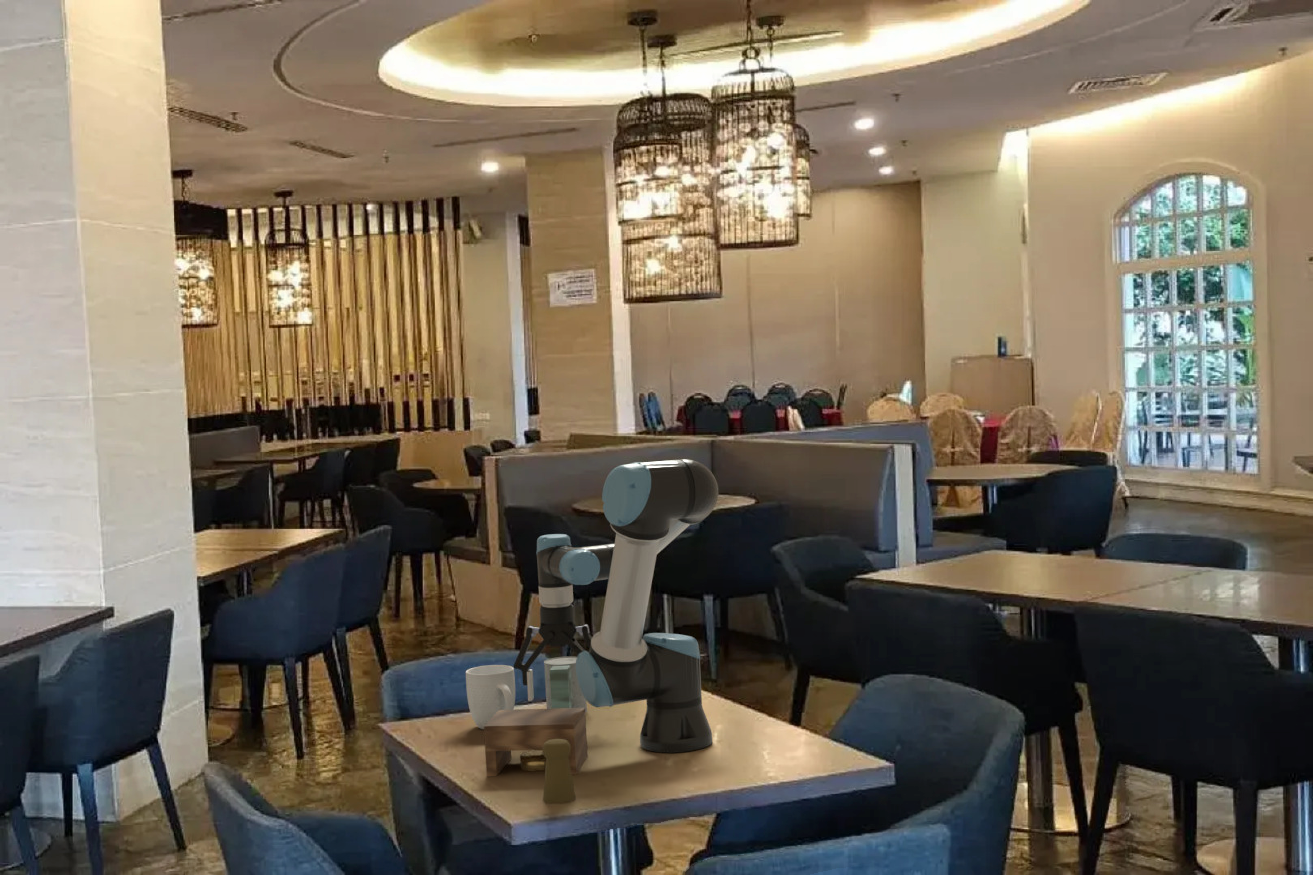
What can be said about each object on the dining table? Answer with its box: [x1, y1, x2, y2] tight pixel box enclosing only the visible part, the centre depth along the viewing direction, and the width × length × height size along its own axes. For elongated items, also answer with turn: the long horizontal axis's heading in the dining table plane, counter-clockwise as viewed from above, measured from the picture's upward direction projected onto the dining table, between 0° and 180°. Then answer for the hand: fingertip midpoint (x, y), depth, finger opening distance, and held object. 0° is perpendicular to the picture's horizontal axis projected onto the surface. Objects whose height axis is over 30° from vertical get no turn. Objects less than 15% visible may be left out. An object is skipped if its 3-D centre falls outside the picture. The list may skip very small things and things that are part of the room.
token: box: [519, 750, 546, 772], centre depth 293 cm, size 7×7×2 cm
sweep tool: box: [550, 666, 573, 708], centre depth 312 cm, size 24×4×14 cm, turn 174°
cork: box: [542, 739, 576, 805], centre depth 268 cm, size 6×6×11 cm
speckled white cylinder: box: [543, 655, 588, 714], centre depth 339 cm, size 10×10×12 cm
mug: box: [465, 664, 516, 731], centre depth 327 cm, size 15×11×13 cm
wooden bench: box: [483, 708, 589, 777], centre depth 292 cm, size 18×14×10 cm
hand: (561, 699), depth 322 cm, fingers open, 13 cm apart
